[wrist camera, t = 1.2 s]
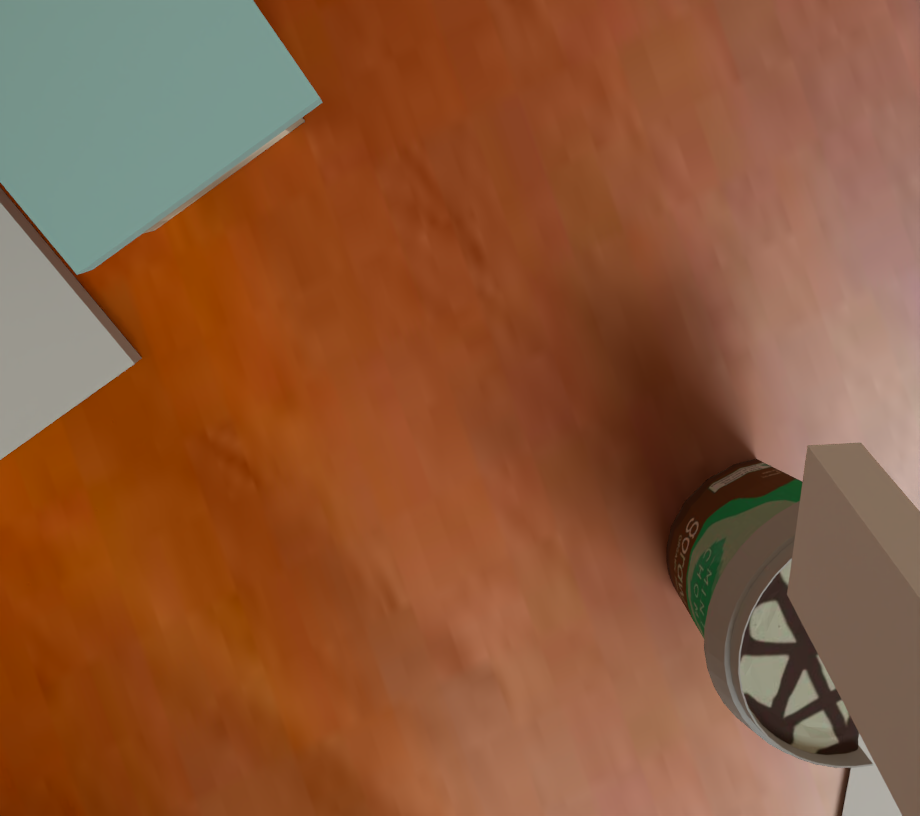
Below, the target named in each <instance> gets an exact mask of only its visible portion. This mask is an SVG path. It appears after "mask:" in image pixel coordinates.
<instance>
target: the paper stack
mask: <svg viewBox="0 0 920 816" xmlns="http://www.w3.org/2000/svg"><path fill="white" fill-rule="evenodd" d="M858 745H859V746H860V748H861V749H862V750H863V751H864V753H865V754H866V755H867V757H868V758H869V759H870V761H871V762H872V763H873V766H865V767H857V768H851V769H850V775H849V780H848V785H847V791H846V796H845V801H844V806H843V812H842V816H902V814H901V812H900V810H899V808H898V806H897V804H896V803H895V801H894V799H893V797H892V795H891V793H890V791H889V789H888V787H887V785H886V783H885V781H884V780H883V778H882V776H881V774H880V772H879V770H878V768H877V766H876V764H875V762H874V760H873V758H872V757H871V755H870V753H869V751H868V749H867V747H866V745H865V743H864V741H863V739H862V737H861V735H860V734H859V738H858Z"/></svg>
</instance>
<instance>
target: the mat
mask: <svg viewBox="0 0 920 816" xmlns="http://www.w3.org/2000/svg"><path fill="white" fill-rule="evenodd" d="M140 359H141V356H140V355H139V354H138V353H137V352H136V350H135V349H134V348H133V347H132V345H131V344H130V343H129V342H128V341H127V339H126V338H125V337H124V336H123V335H122V333H121V332H120V331H119V330H118V329H117V327H116V326H115V325H114V324H113V323H112V321H111V320H110V319H109V318H108V317H107V315H106V314H105V313H104V312H103V311H102V309H101V308H100V307H99V306H98V305H97V303H96V302H95V301H94V300H93V299H92V297H91V296H90V295H89V294H88V292H87V291H86V290H85V289H84V288H83V286H82V285H81V284H80V283H79V282H78V280H77V279H76V278H75V277H74V276H73V274H72V273H71V272H70V271H69V270H68V268H67V267H66V266H65V265H64V264H63V262H62V261H61V260H60V259H59V258H58V256H57V255H56V254H55V253H54V252H53V250H52V249H51V248H50V247H49V246H48V244H47V243H46V242H45V241H44V239H43V238H42V237H41V236H40V235H39V233H38V232H37V231H36V230H35V229H34V227H33V226H32V225H31V224H30V223H29V221H28V220H27V219H26V218H25V217H24V215H23V214H22V213H21V212H20V211H19V209H18V208H17V207H16V206H15V205H14V203H13V202H12V201H11V200H10V199H9V197H8V196H7V195H6V194H5V192H4V191H3V190H2V189H1V188H0V460H1V459H2V458H3V457H5V456H6V455H8V454H9V453H10V452H12V451H13V450H15V449H16V448H17V447H19V446H20V445H22V444H23V443H24V442H26V441H27V440H29V439H30V438H31V437H33V436H34V435H36V434H37V433H38V432H40V431H41V430H43V429H44V428H45V427H47V426H48V425H50V424H51V423H52V422H54V421H55V420H57V419H58V418H59V417H61V416H62V415H64V414H65V413H66V412H68V411H69V410H71V409H72V408H73V407H75V406H76V405H78V404H79V403H80V402H82V401H83V400H85V399H86V398H87V397H89V396H90V395H91V394H93V393H94V392H96V391H97V390H98V389H100V388H101V387H103V386H104V385H105V384H107V383H108V382H110V381H111V380H112V379H114V378H115V377H117V376H118V375H119V374H121V373H122V372H124V371H125V370H126V369H128V368H129V367H131V366H132V365H133V364H135V363H136V362H137V361H139V360H140Z"/></svg>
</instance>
